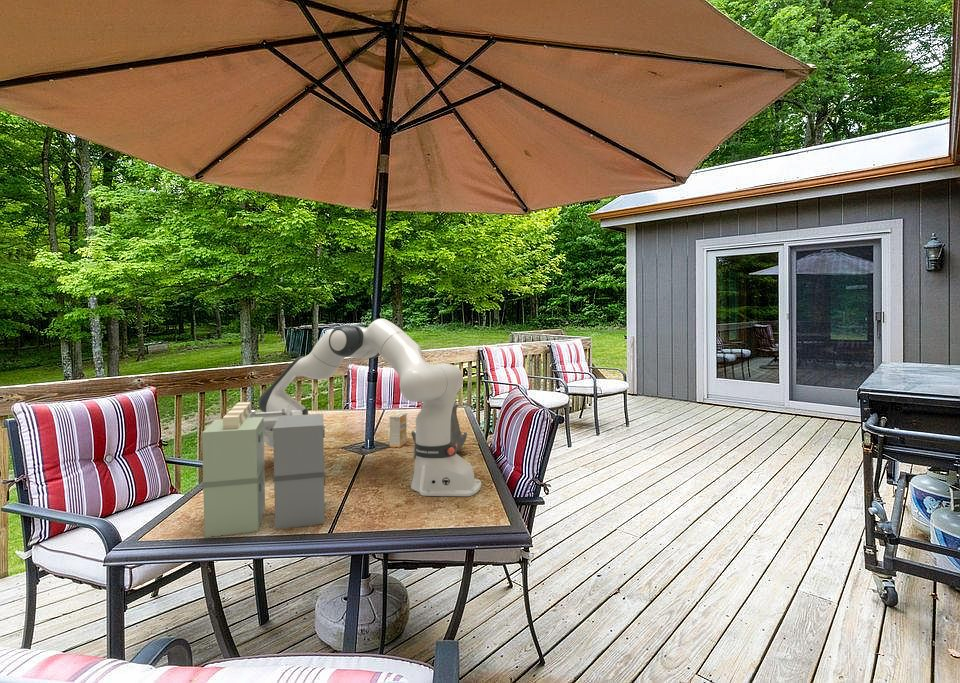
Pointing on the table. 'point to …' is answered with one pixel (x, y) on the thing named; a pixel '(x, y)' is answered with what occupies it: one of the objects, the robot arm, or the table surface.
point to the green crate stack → (233, 477)
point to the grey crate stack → (299, 470)
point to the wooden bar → (237, 415)
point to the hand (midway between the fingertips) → (268, 411)
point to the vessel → (452, 430)
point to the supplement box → (398, 430)
